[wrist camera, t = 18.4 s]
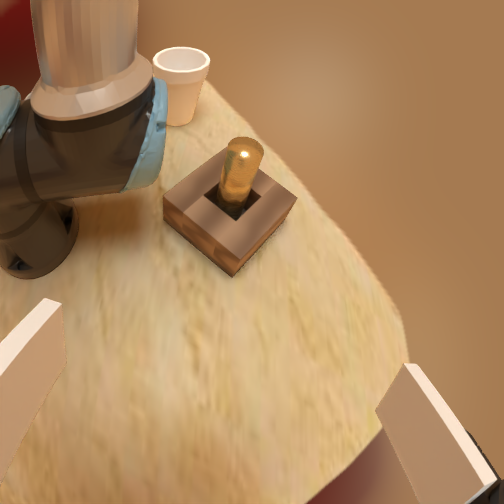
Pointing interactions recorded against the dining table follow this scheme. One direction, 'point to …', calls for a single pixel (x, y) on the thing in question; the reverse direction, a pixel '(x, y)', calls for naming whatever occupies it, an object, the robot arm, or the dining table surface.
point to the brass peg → (238, 175)
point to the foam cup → (181, 80)
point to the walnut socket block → (218, 222)
